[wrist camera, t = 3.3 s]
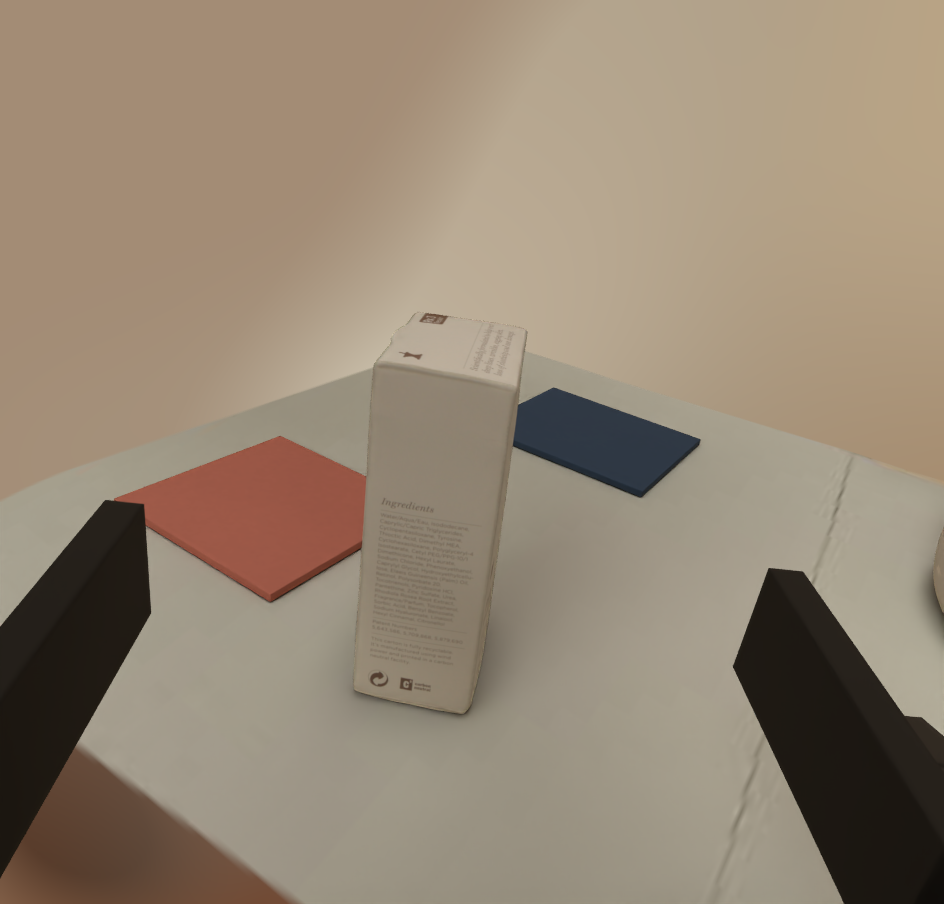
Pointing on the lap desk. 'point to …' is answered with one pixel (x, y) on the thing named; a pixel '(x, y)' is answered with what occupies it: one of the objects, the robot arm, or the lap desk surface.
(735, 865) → the lap desk surface
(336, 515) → the rose mat
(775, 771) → the lap desk surface
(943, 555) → the teapot
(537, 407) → the blue mat
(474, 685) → the cosmetic box
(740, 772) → the lap desk surface
